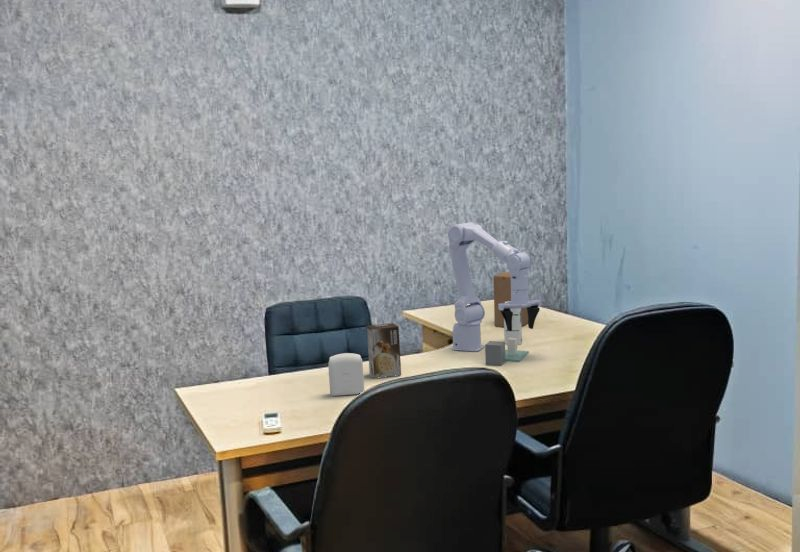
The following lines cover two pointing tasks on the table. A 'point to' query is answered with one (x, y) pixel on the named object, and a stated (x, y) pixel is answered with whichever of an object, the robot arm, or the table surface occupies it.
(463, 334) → the robot arm
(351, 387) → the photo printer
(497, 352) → the dark grey block
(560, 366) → the table surface
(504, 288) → the wooden block
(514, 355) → the teal base stand
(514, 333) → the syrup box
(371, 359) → the coffee box
